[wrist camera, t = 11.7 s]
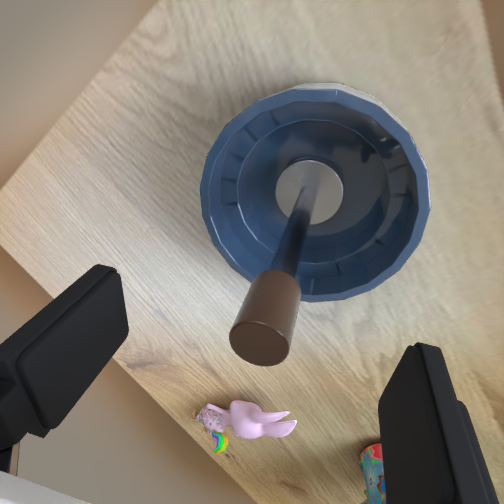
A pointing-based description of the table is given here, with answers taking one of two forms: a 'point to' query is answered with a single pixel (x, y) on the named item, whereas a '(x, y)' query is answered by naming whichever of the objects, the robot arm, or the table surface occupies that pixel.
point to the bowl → (355, 188)
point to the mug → (373, 474)
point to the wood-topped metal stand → (286, 262)
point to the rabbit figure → (242, 422)
